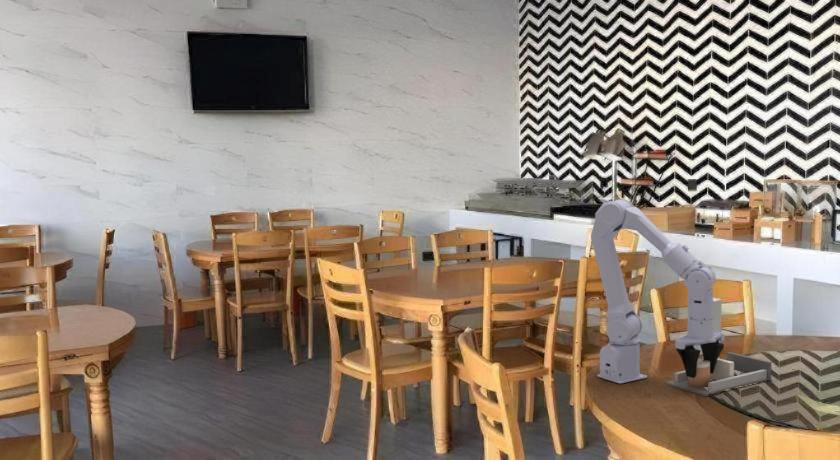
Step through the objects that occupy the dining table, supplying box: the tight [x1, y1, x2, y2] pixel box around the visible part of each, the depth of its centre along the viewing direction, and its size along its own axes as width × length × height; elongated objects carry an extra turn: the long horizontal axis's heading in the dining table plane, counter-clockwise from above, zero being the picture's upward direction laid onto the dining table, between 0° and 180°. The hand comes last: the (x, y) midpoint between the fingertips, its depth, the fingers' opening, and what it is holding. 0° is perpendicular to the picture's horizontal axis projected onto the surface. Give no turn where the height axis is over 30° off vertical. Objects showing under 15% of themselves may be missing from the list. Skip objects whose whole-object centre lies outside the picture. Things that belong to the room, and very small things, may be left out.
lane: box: [664, 351, 772, 397], centre depth 191 cm, size 24×12×4 cm, turn 120°
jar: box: [688, 358, 710, 387], centre depth 188 cm, size 5×5×6 cm
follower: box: [701, 355, 734, 380], centre depth 191 cm, size 2×8×5 cm, turn 30°
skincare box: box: [694, 297, 722, 356], centre depth 220 cm, size 8×6×15 cm
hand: (699, 374), depth 188 cm, fingers open, 6 cm apart
